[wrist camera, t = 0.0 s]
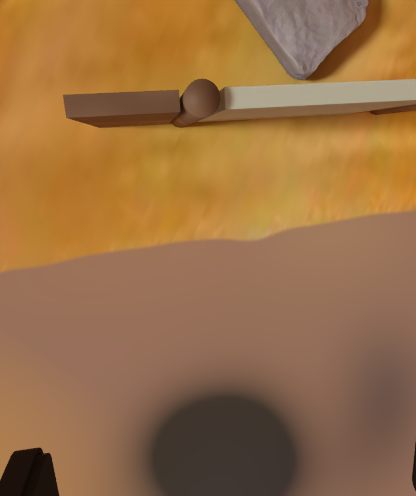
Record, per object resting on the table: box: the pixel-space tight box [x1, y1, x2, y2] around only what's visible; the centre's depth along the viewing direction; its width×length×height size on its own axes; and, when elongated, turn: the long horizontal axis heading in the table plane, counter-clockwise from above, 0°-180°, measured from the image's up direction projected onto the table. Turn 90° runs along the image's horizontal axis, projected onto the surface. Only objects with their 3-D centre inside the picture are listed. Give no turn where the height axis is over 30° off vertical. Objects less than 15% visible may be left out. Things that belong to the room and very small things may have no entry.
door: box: [197, 79, 416, 122], centre depth 30 cm, size 15×1×14 cm, turn 93°
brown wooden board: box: [63, 79, 416, 128], centre depth 30 cm, size 2×28×16 cm, turn 93°
